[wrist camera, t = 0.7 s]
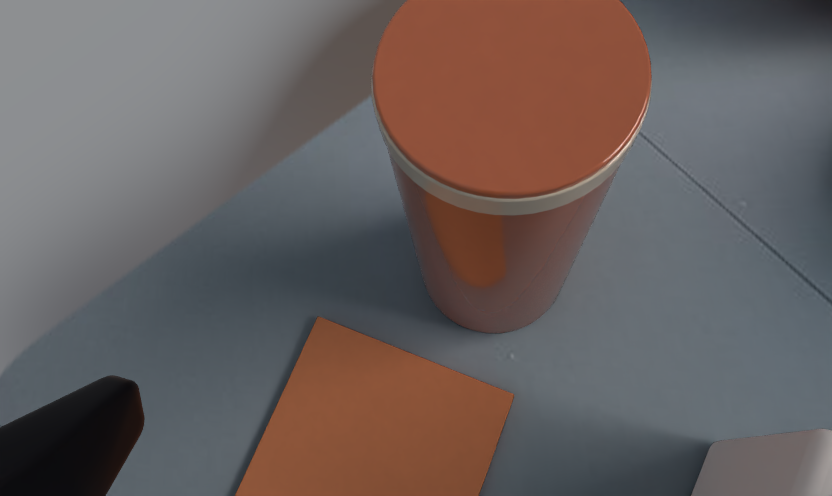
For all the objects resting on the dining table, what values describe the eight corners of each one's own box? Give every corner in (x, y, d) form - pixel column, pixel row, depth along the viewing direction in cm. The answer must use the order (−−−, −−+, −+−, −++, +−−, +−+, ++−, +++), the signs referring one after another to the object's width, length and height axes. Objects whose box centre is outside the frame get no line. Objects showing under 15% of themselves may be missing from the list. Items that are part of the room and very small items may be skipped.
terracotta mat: (432, 623, 21) (432, 626, 21) (225, 522, 23) (221, 523, 22) (514, 395, 23) (514, 394, 23) (319, 318, 25) (317, 315, 25)
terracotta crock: (538, 357, 24) (605, 238, 11) (398, 303, 25) (323, 143, 13) (585, 223, 25) (688, -7, 13) (451, 179, 26) (430, -72, 14)
